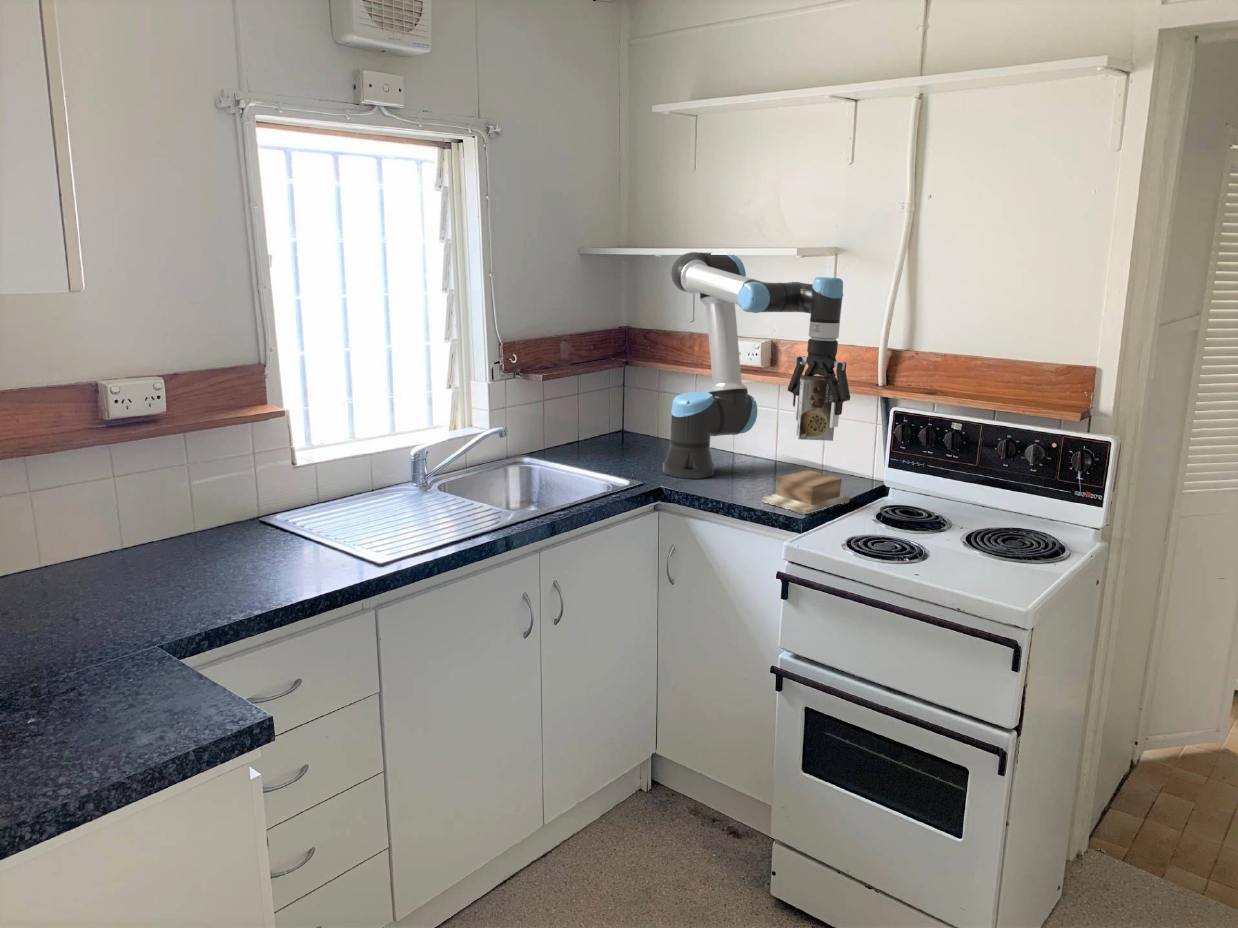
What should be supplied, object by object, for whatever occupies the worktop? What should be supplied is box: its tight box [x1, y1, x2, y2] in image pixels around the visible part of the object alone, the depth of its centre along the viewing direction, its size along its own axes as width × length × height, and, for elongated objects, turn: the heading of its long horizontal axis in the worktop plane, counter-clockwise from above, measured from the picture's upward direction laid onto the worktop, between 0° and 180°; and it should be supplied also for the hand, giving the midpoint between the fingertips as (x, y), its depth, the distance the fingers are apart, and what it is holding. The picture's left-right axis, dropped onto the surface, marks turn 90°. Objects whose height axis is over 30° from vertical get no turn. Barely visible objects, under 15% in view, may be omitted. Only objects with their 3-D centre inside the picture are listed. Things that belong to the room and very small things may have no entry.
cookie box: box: [795, 374, 838, 442], centre depth 239 cm, size 9×6×16 cm
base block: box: [776, 469, 842, 505], centre depth 245 cm, size 11×13×5 cm
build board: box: [761, 492, 851, 513], centre depth 245 cm, size 14×20×2 cm
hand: (815, 423), depth 240 cm, fingers closed on cookie box, 10 cm apart
